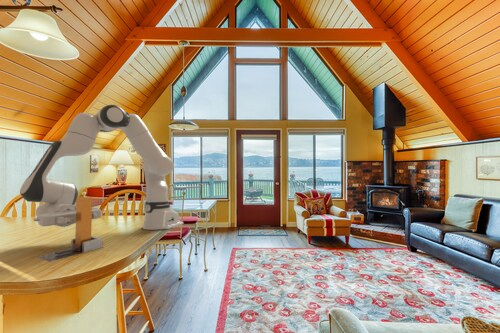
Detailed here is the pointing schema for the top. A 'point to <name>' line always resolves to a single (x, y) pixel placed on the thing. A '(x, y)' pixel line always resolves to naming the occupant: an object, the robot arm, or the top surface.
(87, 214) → the orange upright panel
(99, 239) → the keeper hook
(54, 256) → the rail plate
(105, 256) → the top surface
